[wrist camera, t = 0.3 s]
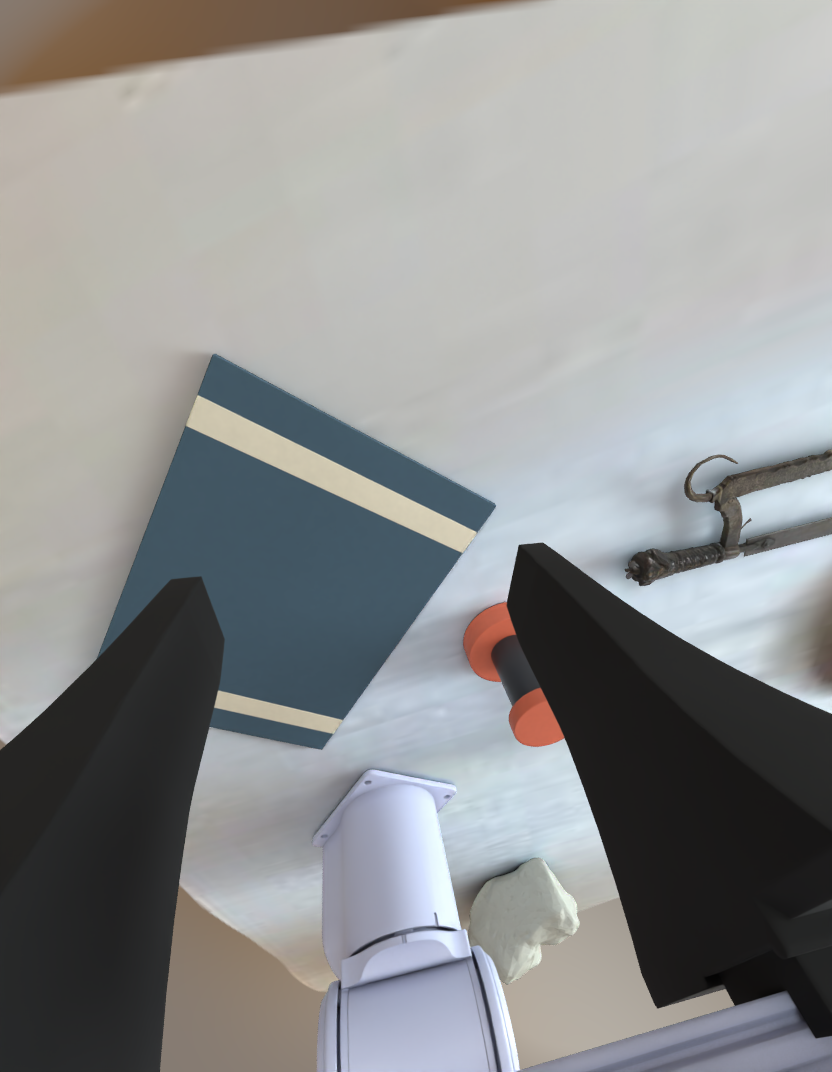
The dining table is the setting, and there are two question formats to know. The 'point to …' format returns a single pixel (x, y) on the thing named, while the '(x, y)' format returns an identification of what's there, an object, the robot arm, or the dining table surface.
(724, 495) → the hacksaw
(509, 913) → the decorative stone
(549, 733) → the orange thread spool
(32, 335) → the dining table surface
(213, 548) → the tea towel
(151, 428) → the dining table surface
